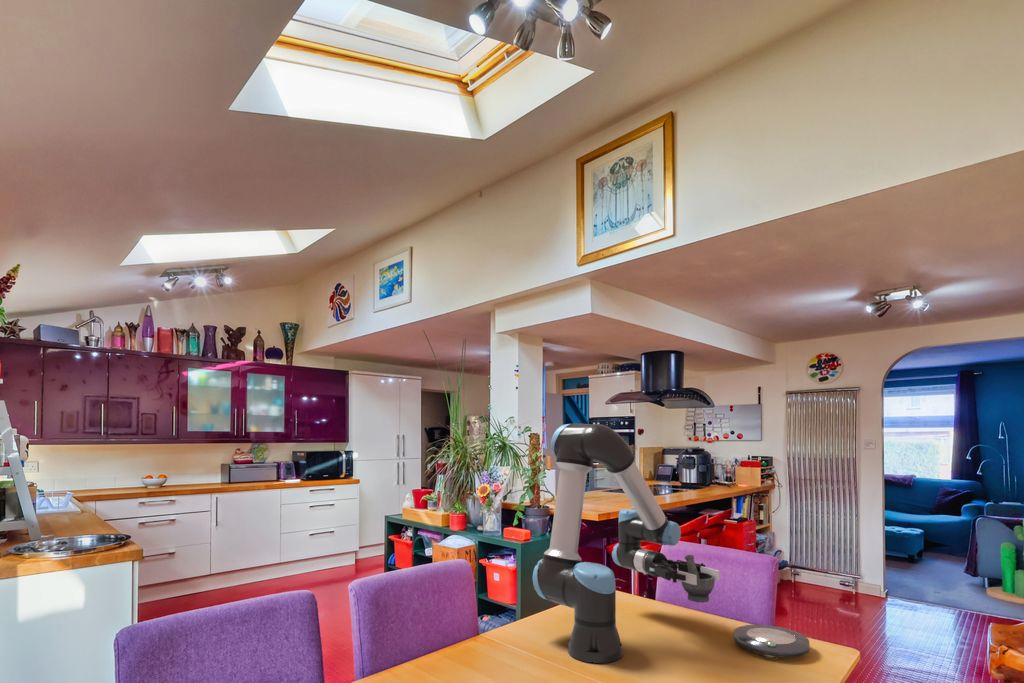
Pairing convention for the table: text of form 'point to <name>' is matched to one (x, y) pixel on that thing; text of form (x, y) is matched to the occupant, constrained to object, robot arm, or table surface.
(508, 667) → the table surface
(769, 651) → the base
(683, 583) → the mortar and pestle
